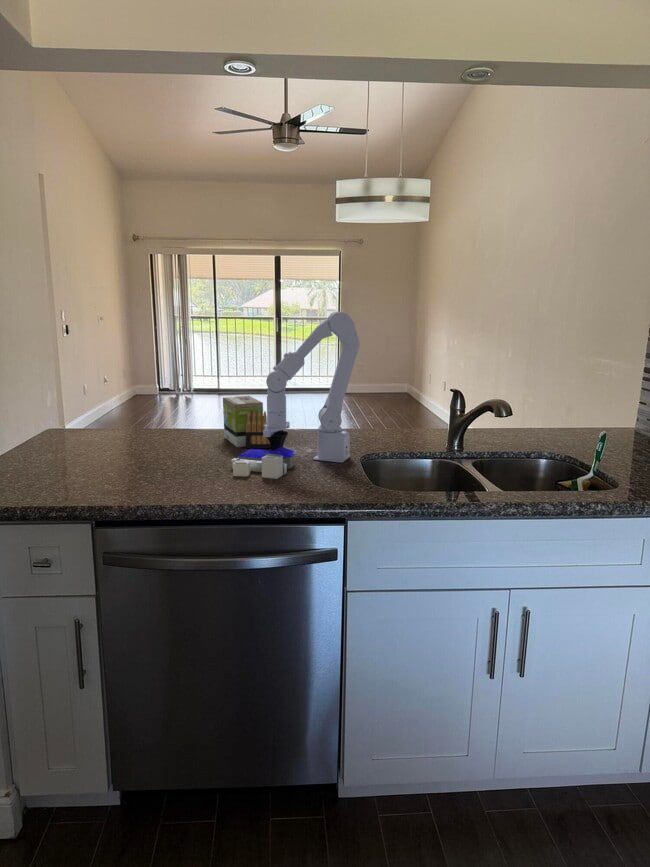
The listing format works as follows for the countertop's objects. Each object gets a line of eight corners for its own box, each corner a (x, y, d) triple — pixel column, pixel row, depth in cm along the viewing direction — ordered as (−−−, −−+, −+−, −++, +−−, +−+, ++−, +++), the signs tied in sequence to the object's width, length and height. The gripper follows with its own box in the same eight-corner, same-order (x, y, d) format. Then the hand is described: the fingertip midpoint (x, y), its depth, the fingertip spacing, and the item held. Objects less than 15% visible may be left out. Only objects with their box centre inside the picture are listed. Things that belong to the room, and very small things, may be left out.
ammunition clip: (245, 447, 190) (245, 410, 190) (246, 447, 191) (246, 411, 191) (278, 447, 190) (278, 411, 190) (278, 447, 192) (278, 411, 192)
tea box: (223, 438, 205) (221, 396, 201) (250, 435, 209) (249, 395, 206) (235, 447, 191) (234, 403, 188) (264, 444, 195) (264, 401, 192)
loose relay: (250, 473, 162) (249, 460, 161) (247, 476, 159) (247, 463, 158) (236, 473, 162) (235, 460, 162) (233, 476, 160) (232, 463, 159)
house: (286, 473, 164) (286, 454, 162) (237, 468, 168) (237, 450, 167) (299, 463, 174) (299, 445, 173) (252, 459, 178) (252, 442, 177)
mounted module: (282, 474, 161) (282, 454, 159) (276, 478, 157) (276, 458, 156) (268, 473, 162) (268, 453, 161) (261, 477, 158) (261, 456, 157)
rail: (287, 473, 163) (286, 462, 162) (284, 474, 161) (284, 464, 160) (234, 467, 168) (234, 457, 168) (231, 468, 166) (231, 459, 166)
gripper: (274, 406, 182) (275, 448, 185) (253, 414, 169) (254, 459, 172) (295, 408, 180) (295, 450, 183) (275, 416, 166) (276, 462, 169)
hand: (277, 455), depth 177 cm, fingers closed
